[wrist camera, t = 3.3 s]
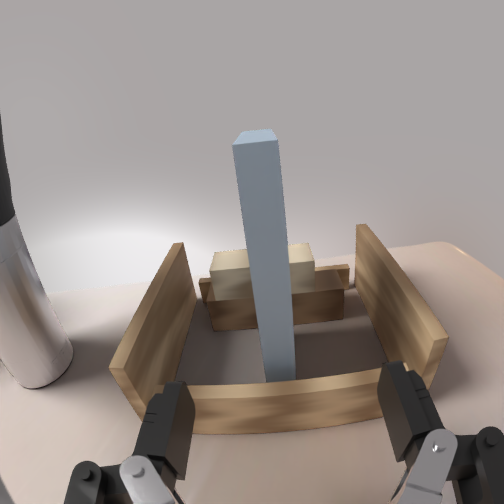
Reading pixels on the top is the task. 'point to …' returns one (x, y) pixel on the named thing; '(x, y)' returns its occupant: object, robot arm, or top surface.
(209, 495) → the top surface
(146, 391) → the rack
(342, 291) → the offcut stack
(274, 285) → the panel
